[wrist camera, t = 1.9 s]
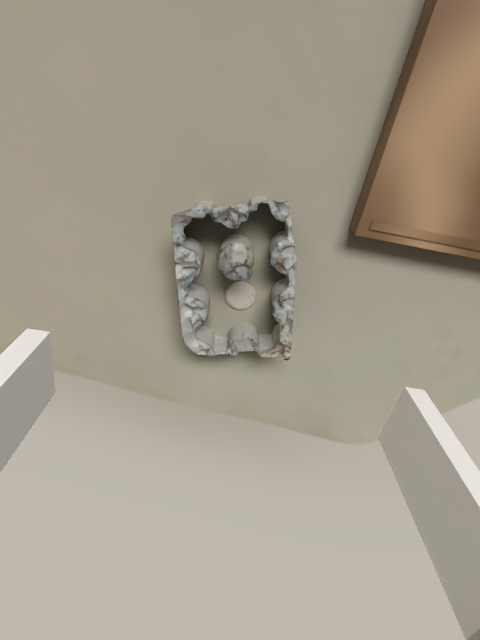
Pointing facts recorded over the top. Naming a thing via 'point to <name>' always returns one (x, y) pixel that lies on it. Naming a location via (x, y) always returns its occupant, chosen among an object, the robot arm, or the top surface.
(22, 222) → the top surface
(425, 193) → the walnut board
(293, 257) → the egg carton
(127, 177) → the top surface
